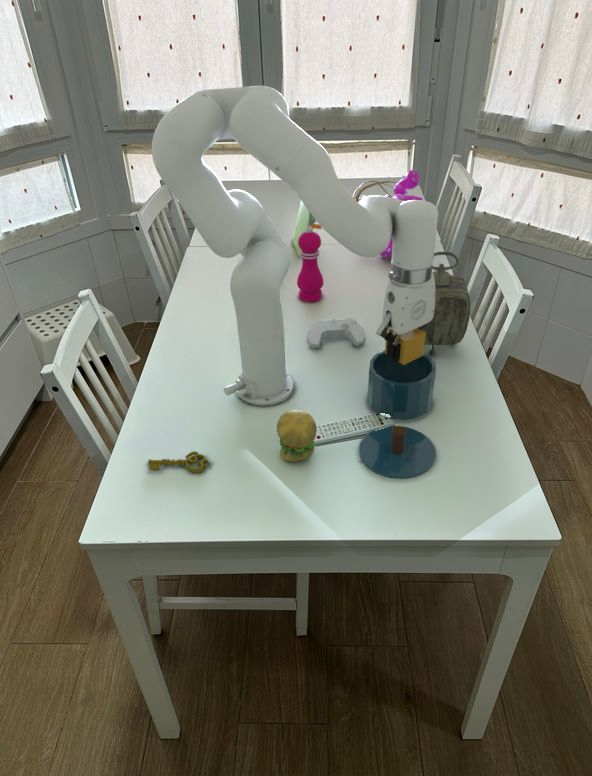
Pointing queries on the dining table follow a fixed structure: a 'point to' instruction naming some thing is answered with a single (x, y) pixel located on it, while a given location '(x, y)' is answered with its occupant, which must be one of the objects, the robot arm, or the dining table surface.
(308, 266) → the pepper mill
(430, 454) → the lid
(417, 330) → the block
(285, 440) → the hamburger
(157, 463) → the key
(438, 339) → the tabletop clock
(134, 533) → the dining table surface
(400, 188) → the magenta orchid sprig
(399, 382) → the crock
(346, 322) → the game controller
